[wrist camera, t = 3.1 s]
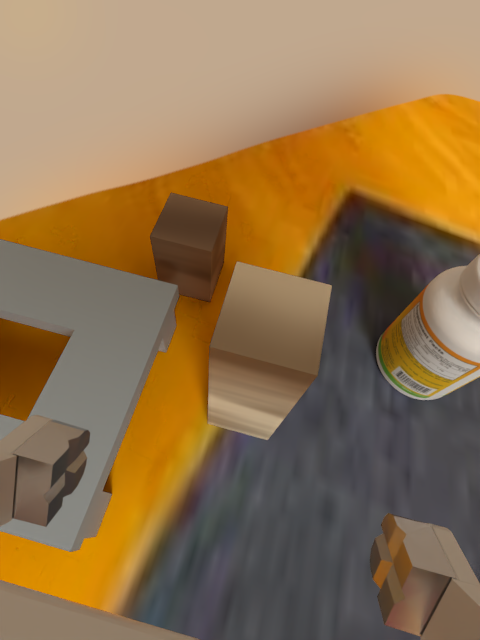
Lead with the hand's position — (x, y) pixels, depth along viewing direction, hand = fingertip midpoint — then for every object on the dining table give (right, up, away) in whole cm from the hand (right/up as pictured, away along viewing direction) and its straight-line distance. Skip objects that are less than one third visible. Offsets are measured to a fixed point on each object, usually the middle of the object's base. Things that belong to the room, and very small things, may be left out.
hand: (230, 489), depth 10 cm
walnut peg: (-3, +8, +17) cm, 19 cm away
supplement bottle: (+12, +2, +15) cm, 19 cm away
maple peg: (+1, 0, +13) cm, 13 cm away
